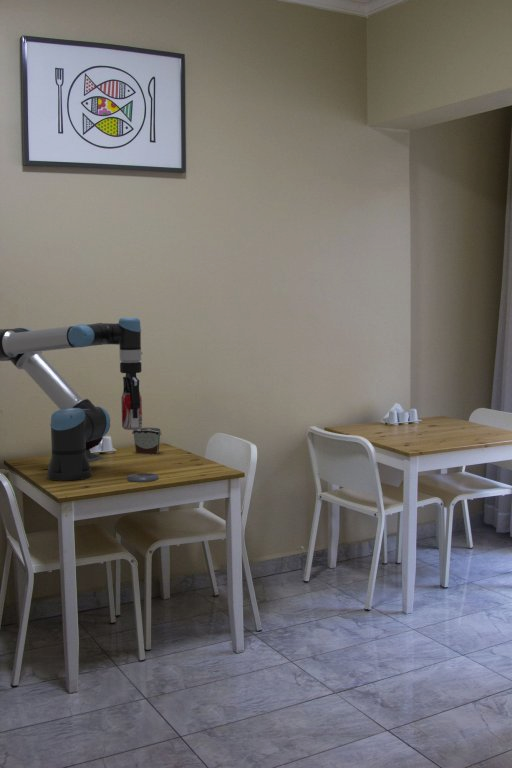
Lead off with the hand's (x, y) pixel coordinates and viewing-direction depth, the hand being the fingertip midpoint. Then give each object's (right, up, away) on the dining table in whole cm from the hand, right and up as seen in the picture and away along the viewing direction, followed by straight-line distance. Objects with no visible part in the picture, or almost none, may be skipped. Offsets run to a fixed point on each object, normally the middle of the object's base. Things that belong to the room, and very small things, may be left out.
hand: (132, 425), depth 304 cm
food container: (+1, -13, +40) cm, 42 cm away
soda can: (0, -1, 0) cm, 1 cm away
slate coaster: (+5, -18, -8) cm, 20 cm away
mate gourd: (-22, -15, +28) cm, 38 cm away
